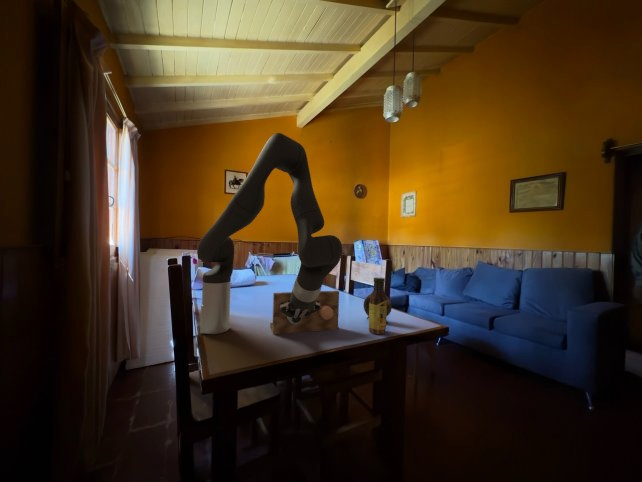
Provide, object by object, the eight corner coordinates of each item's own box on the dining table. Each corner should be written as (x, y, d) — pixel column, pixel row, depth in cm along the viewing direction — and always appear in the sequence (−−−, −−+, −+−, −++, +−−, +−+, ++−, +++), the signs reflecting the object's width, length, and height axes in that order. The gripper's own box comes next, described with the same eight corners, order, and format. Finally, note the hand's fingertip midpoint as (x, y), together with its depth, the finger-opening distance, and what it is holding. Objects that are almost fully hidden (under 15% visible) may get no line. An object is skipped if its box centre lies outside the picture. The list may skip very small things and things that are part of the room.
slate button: (282, 315, 97) (283, 303, 97) (294, 315, 98) (295, 303, 98) (288, 324, 87) (288, 311, 87) (301, 323, 88) (302, 310, 88)
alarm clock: (391, 322, 110) (392, 283, 110) (387, 326, 106) (388, 284, 105) (366, 317, 116) (367, 280, 116) (361, 320, 111) (362, 281, 111)
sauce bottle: (382, 336, 94) (384, 279, 94) (365, 332, 97) (367, 278, 97) (388, 331, 100) (390, 277, 99) (372, 327, 103) (374, 276, 103)
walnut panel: (273, 334, 93) (274, 293, 92) (270, 326, 100) (271, 289, 100) (337, 329, 100) (339, 291, 100) (330, 322, 108) (331, 287, 107)
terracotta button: (313, 312, 103) (313, 300, 103) (323, 311, 104) (324, 300, 104) (321, 320, 93) (321, 307, 93) (333, 319, 95) (333, 306, 94)
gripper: (325, 278, 80) (313, 308, 92) (281, 279, 76) (274, 310, 88) (331, 300, 75) (317, 329, 87) (284, 302, 71) (275, 332, 83)
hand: (295, 320), depth 87 cm, fingers closed
